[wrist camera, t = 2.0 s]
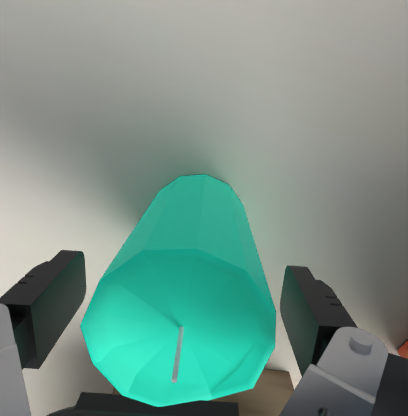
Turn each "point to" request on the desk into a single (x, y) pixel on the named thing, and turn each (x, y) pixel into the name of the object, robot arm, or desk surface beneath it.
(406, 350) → the cracker box
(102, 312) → the candle
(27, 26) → the desk surface
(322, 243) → the desk surface
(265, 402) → the walnut block
